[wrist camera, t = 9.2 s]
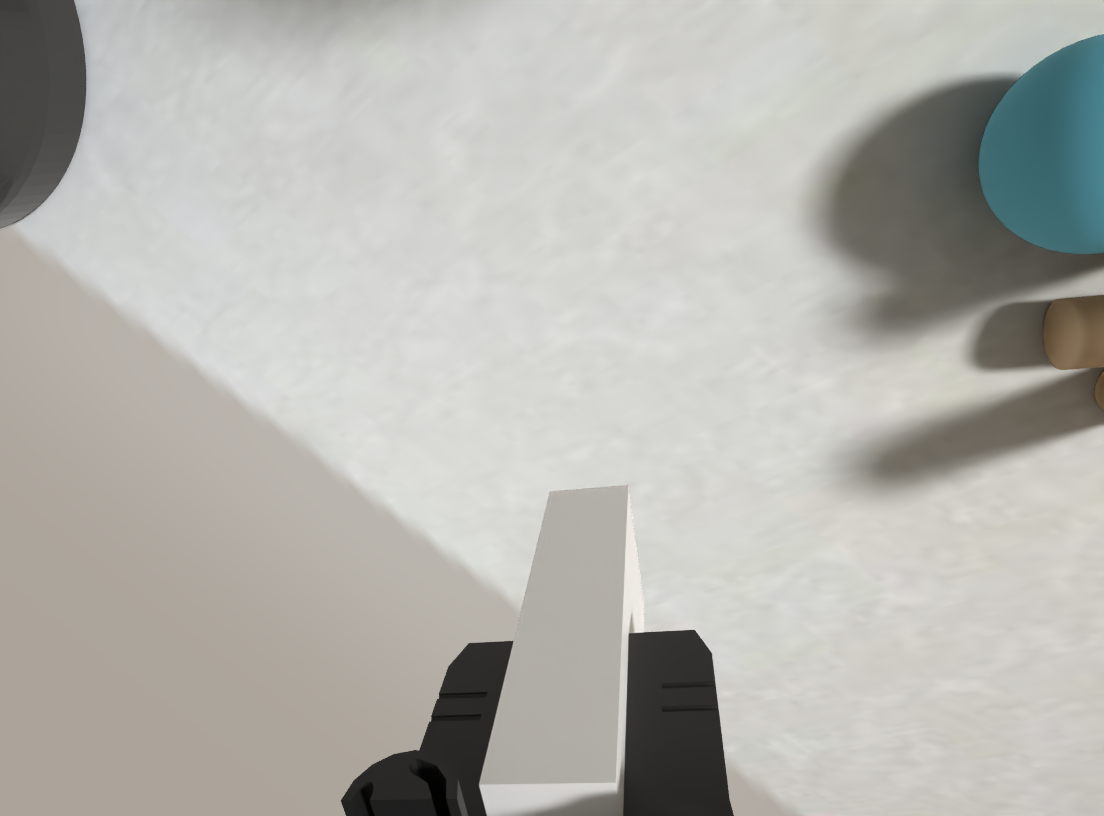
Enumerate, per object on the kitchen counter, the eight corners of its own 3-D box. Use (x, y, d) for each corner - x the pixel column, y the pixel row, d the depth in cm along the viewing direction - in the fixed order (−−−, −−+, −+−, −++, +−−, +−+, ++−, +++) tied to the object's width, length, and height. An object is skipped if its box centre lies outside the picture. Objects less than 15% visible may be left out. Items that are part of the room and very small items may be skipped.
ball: (1022, 272, 26) (1012, 298, 21) (960, 108, 25) (936, 98, 21) (1250, 193, 22) (1302, 204, 17) (1182, 1, 22) (1214, -42, 17)
